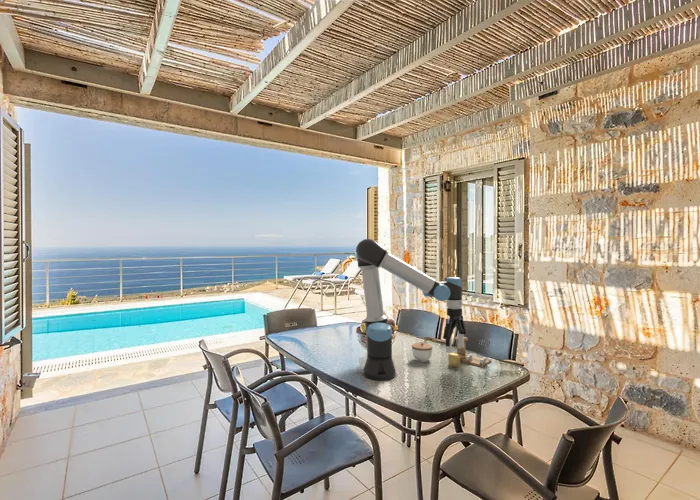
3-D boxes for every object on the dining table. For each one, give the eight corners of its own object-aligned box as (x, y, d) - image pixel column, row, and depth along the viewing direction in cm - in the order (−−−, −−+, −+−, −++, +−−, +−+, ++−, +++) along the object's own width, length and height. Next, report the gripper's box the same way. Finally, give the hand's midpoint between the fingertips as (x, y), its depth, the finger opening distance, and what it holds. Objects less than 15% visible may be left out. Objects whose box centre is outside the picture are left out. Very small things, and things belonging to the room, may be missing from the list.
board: (482, 367, 178) (482, 360, 178) (449, 359, 191) (449, 353, 191) (491, 361, 187) (491, 354, 187) (459, 354, 199) (459, 348, 199)
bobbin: (464, 359, 187) (465, 340, 187) (450, 356, 192) (450, 338, 192) (471, 356, 192) (471, 337, 192) (457, 353, 198) (457, 335, 198)
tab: (457, 367, 177) (457, 355, 177) (448, 365, 181) (448, 353, 181) (460, 366, 179) (460, 354, 179) (451, 364, 183) (451, 352, 183)
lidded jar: (432, 364, 183) (432, 346, 183) (411, 362, 185) (411, 344, 185) (432, 357, 194) (432, 340, 194) (412, 356, 196) (412, 339, 196)
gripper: (449, 312, 168) (450, 356, 168) (472, 305, 186) (472, 345, 186) (435, 310, 173) (436, 353, 173) (458, 304, 192) (459, 343, 192)
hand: (455, 349), depth 180 cm, fingers open, 13 cm apart
